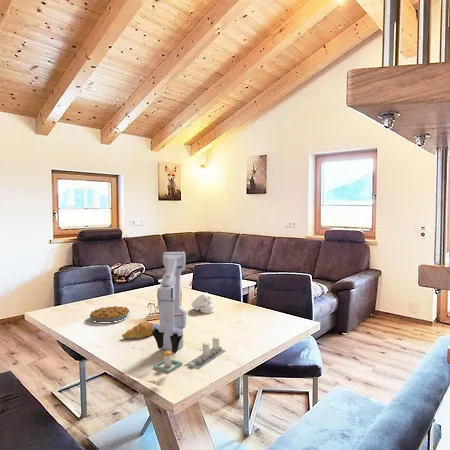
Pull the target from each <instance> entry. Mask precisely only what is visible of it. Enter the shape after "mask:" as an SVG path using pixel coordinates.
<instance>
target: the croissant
mask: <svg viewBox="0 0 450 450" xmlns="http://www.w3.org/2000/svg"><path fill="white" fill-rule="evenodd" d="M153 324H154V323H151V322H149V321H141V322H140V323H138V324H137V325H134V326H133V327H132V328H130V329H128V330H127V331H125V333H122V335H121V337H122V338H123V339H126V340H127V339H133V338H137V339H144V338H147V337H146V336H148V337H150V335H151V336H153V335H152V332H153V331H154V330H152V325H153Z"/></svg>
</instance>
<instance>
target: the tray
mask: <svg viewBox="0 0 450 450" xmlns="http://www.w3.org/2000/svg"><path fill="white" fill-rule="evenodd" d="M163 364H164V359H162V360H161V361H159V362H157V363H155V364H153V367H152V368H153V369H154V370H158V371H161V372H164V373H168V374H170V373H171V372H173V371H174V370H176V369H178V368H180V367H181V366H183V362H182V361H180V360H179V361H178V360H175V359H173V358H172V364H175V365H174V366H172V367H171V368H165V367H162V366H161V365H163Z"/></svg>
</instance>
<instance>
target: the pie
mask: <svg viewBox="0 0 450 450" xmlns="http://www.w3.org/2000/svg"><path fill="white" fill-rule="evenodd" d="M129 313H130V309H129V308H127V306H125V307H123V306H116V305H114V306H107V307H100V308H98V309H94V310H93V311H91V312H90V314H89V317H90V318H91V320H92V321H96V322H114V321H119V320H122V319H124V318H127V317H128V315H129ZM124 320H125V319H124ZM122 321H123V320H122ZM96 322H95V323H96ZM119 322H120V321H119Z"/></svg>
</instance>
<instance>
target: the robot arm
mask: <svg viewBox="0 0 450 450" xmlns="http://www.w3.org/2000/svg"><path fill="white" fill-rule="evenodd" d="M186 256H187V255H186V252H185V251H164V252H163V254H162V264H163V266H164V269H165V274H163V276H162V277H161V283H160V287H158V288H157V290H156V291H157V293H156V298H157V305H158V307H159V308H158V309H159V310H158V311H159V313H158V314H159V323H153V325H152V330H154V331H153V332H152V335H151V336H153V338H154V339H155V340H154V341H155V342H156V344H157V349H159V350H160V349H162V350H165V351H168V350H170V351H171V352H172V354H174V353H177V352H178V350H181V349H183V348H184V329H185V328H186V326H187V312H186V311H185V310H184V308H182V307H181V275H182V271H185V270H186V263H187V262H186Z"/></svg>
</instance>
